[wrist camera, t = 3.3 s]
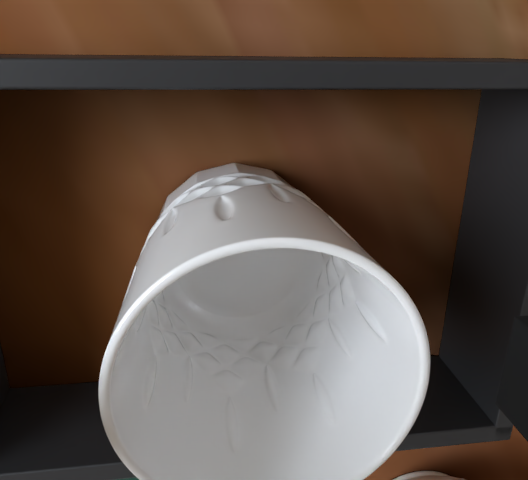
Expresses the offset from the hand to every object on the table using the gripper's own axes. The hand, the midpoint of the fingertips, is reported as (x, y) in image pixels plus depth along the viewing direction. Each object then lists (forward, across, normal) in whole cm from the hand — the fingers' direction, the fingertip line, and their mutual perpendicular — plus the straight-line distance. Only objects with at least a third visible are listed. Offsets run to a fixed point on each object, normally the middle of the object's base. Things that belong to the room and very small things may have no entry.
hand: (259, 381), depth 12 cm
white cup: (+10, 0, 0) cm, 10 cm away
